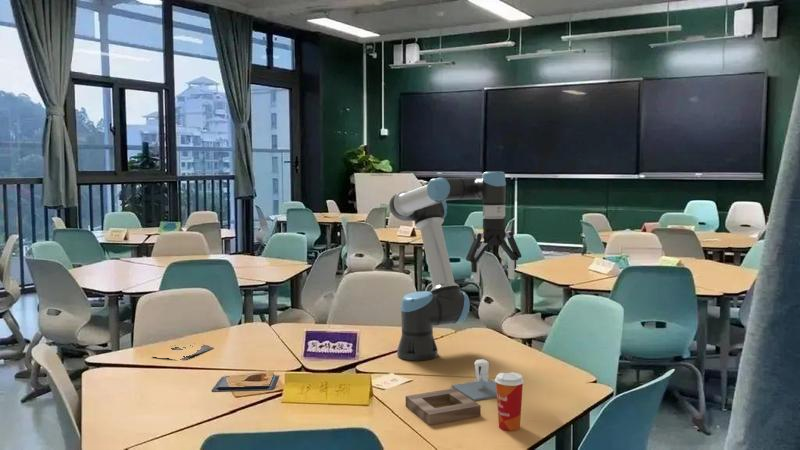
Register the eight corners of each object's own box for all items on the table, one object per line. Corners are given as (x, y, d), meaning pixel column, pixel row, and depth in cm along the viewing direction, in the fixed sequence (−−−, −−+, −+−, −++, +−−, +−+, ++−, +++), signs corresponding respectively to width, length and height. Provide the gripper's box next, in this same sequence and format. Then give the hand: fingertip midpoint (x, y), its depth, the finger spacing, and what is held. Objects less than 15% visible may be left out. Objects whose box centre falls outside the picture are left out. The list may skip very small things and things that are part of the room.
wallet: (209, 388, 202) (221, 373, 217) (210, 393, 202) (222, 378, 217) (273, 386, 202) (280, 372, 217) (273, 392, 202) (281, 377, 218)
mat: (451, 386, 204) (451, 385, 204) (489, 380, 209) (489, 379, 209) (473, 401, 191) (473, 399, 191) (513, 394, 196) (513, 392, 196)
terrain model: (184, 363, 236) (183, 354, 236) (151, 359, 241) (151, 351, 241) (218, 348, 255) (218, 340, 254) (187, 345, 260) (187, 338, 260)
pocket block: (405, 405, 188) (405, 395, 187) (453, 397, 194) (453, 388, 194) (429, 425, 173) (429, 414, 173) (480, 415, 179) (480, 405, 179)
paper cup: (491, 422, 175) (491, 372, 174) (519, 420, 175) (519, 370, 174) (498, 433, 167) (498, 381, 166) (527, 432, 168) (527, 380, 167)
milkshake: (491, 391, 197) (491, 359, 197) (473, 390, 199) (473, 358, 198) (492, 386, 202) (492, 355, 201) (475, 385, 203) (475, 354, 202)
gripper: (466, 219, 205) (467, 285, 207) (531, 216, 215) (531, 279, 217) (455, 218, 212) (456, 281, 214) (519, 215, 222) (519, 276, 224)
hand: (494, 280), depth 215 cm, fingers open, 13 cm apart
